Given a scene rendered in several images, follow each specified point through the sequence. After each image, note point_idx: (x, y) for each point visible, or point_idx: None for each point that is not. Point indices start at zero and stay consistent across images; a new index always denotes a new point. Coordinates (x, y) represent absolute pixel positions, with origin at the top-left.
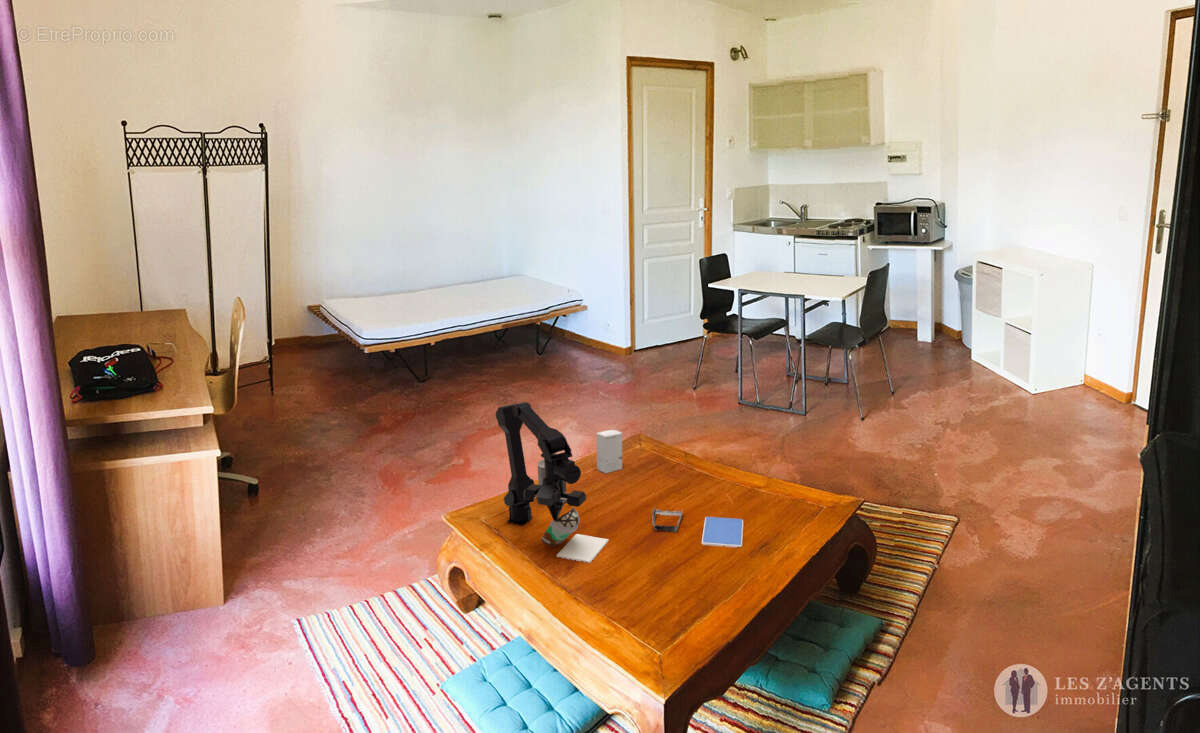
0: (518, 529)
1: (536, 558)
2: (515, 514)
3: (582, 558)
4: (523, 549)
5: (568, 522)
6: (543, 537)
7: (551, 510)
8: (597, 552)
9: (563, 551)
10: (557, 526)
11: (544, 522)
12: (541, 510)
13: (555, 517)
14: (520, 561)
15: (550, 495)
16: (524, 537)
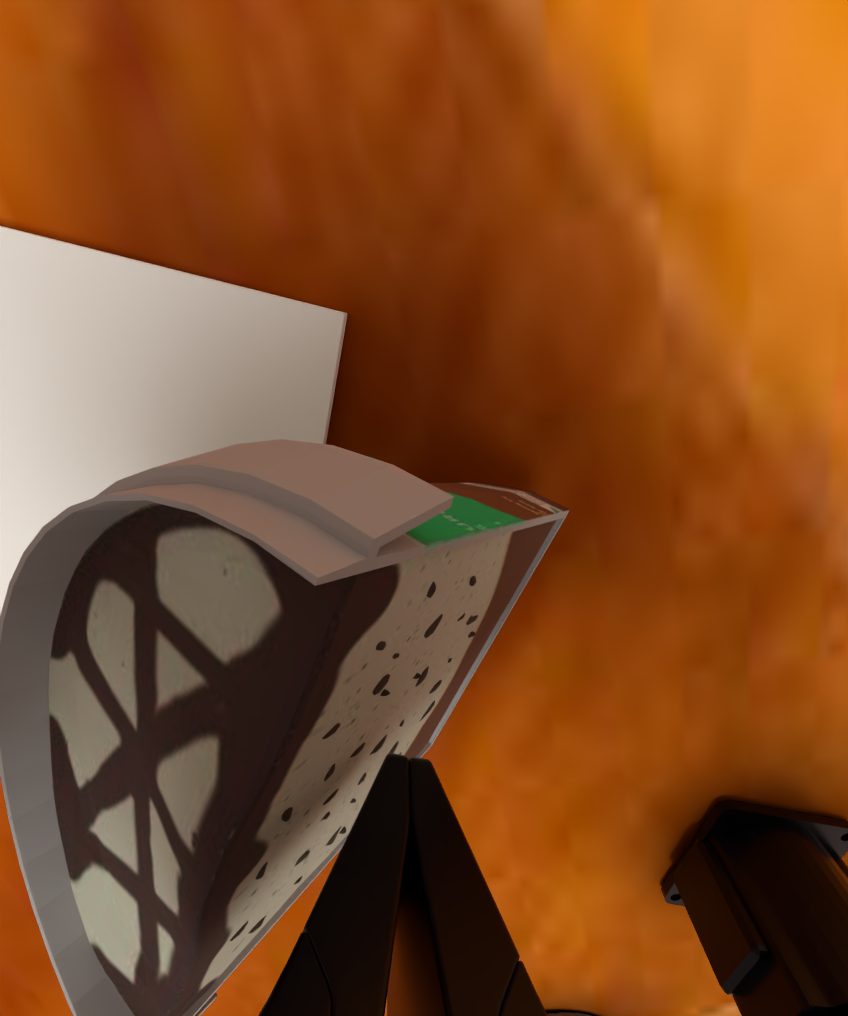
0: (761, 747)
1: (562, 249)
2: (842, 897)
3: (31, 269)
4: (714, 433)
5: (126, 710)
6: (539, 507)
7: (479, 1004)
8: None
9: (294, 407)
10: (229, 467)
11: (567, 846)
12: (605, 959)
13: (389, 811)
14: (745, 143)
15: None
16: (710, 642)
